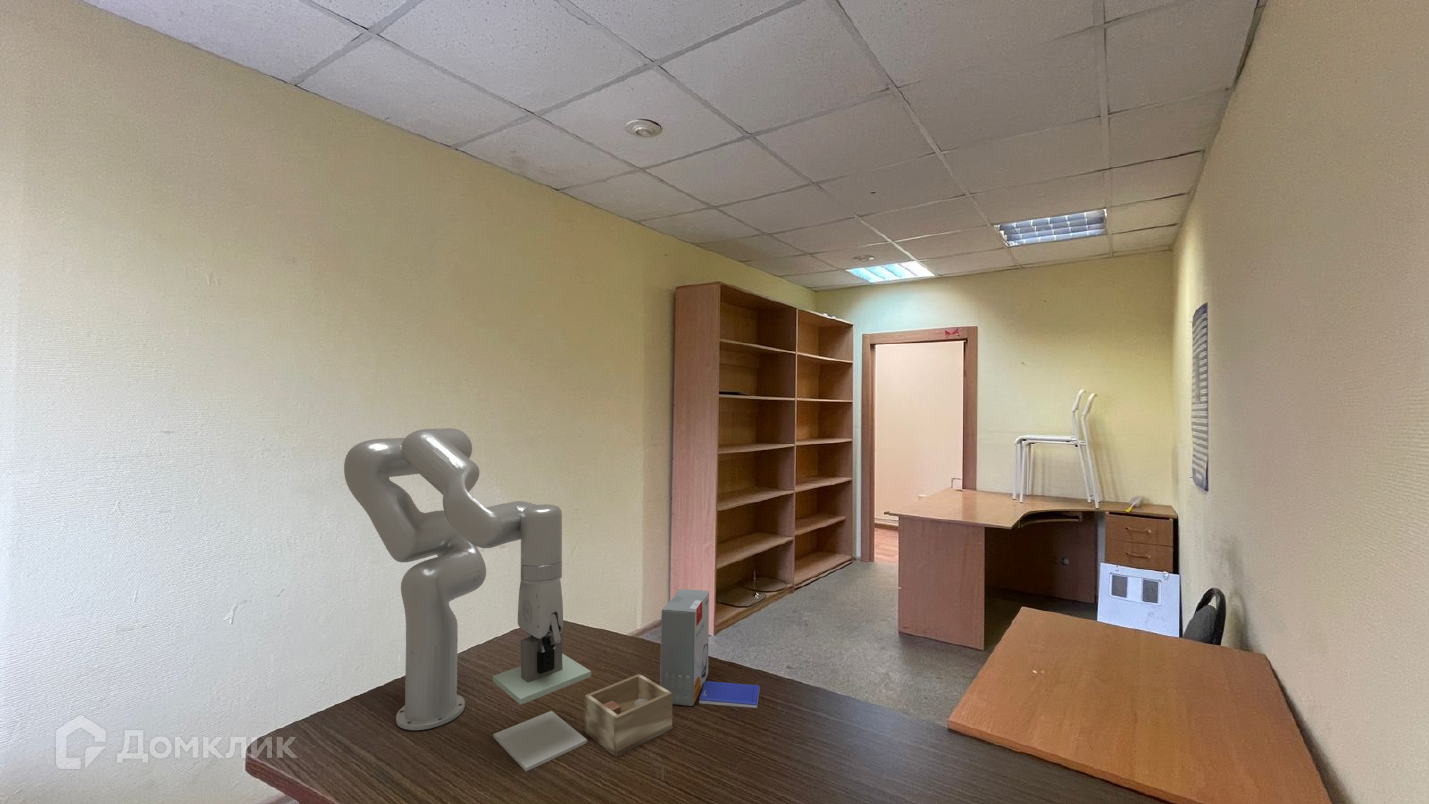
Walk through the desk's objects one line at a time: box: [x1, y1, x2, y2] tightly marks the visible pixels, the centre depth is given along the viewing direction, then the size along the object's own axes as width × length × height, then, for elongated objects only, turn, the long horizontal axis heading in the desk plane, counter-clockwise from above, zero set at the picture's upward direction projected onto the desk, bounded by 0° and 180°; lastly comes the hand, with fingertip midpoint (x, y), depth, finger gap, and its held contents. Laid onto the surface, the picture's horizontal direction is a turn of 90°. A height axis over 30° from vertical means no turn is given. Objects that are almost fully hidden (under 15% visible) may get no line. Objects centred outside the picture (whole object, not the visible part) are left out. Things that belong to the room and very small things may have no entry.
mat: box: [493, 710, 588, 772], centre depth 104 cm, size 14×12×1 cm
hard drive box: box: [659, 588, 710, 707], centre depth 124 cm, size 16×8×20 cm, turn 168°
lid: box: [492, 630, 592, 706], centre depth 104 cm, size 12×14×9 cm
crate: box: [584, 673, 673, 758], centre depth 107 cm, size 11×13×7 cm
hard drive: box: [698, 680, 761, 709], centre depth 120 cm, size 2×8×12 cm
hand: (541, 667), depth 104 cm, fingers closed on lid, 2 cm apart
